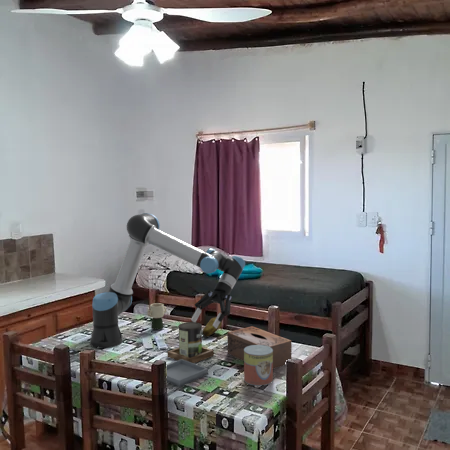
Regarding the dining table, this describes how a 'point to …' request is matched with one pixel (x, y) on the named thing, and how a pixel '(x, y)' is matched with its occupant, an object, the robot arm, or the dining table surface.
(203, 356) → the holder frame
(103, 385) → the dining table surface
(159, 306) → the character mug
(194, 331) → the coffee can
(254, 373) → the canned food
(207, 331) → the potato
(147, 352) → the dining table surface
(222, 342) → the dining table surface
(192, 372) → the tray
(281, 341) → the tissue box cover
